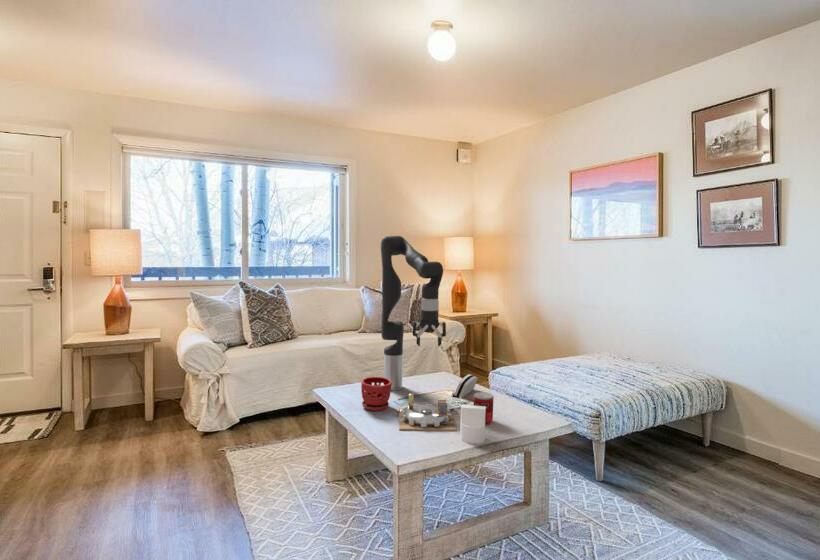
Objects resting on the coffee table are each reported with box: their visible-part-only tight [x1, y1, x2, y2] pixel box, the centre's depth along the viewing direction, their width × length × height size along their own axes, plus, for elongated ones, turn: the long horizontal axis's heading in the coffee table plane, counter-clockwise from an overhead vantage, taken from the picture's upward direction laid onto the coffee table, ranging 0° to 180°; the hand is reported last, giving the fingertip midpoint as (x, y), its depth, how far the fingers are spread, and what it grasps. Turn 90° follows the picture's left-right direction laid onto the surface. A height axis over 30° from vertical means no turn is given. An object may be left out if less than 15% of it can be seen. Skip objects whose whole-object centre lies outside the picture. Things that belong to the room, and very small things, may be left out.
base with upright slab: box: [459, 404, 486, 445], centre depth 174 cm, size 9×9×12 cm
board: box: [398, 408, 457, 432], centre depth 192 cm, size 22×22×1 cm
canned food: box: [473, 391, 494, 426], centre depth 191 cm, size 8×8×11 cm
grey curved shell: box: [451, 373, 478, 398], centre depth 227 cm, size 17×5×10 cm, turn 151°
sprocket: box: [401, 392, 453, 427], centre depth 191 cm, size 20×20×8 cm
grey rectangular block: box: [437, 399, 448, 415], centre depth 191 cm, size 6×3×4 cm, turn 2°
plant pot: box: [360, 376, 392, 412], centre depth 204 cm, size 13×13×12 cm
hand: (428, 345), depth 202 cm, fingers open, 8 cm apart
